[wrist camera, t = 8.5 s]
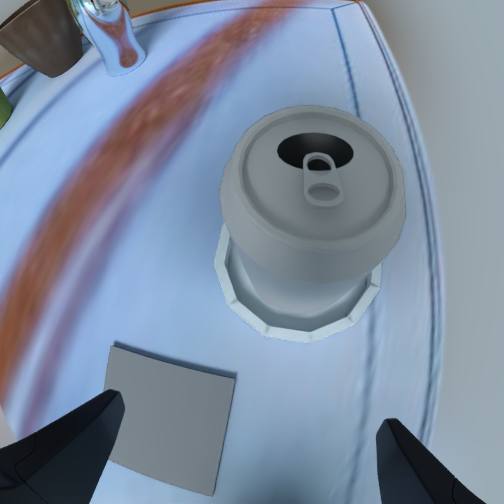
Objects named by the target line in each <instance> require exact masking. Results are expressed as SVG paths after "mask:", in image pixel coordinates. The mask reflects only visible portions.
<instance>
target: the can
mask: <svg viewBox="0 0 504 504" xmlns="http://www.w3.org/2000/svg"><path fill="white" fill-rule="evenodd" d="M219 193H220V201H221V210H222V217H223V220H224V222H225V224H226V227H227V229H228V231H229V234H230V236H231V238H232V241H233V243H234V245H235V247H236V250H237V252H238V254H239V257H240V259H241V261H242V264H243V266H244V268H245V271H246V273H247V275H248V277H249V279H250V281H251V283H252V285H253V287H254V289H255V291H256V292H257V293H258V294H259V295H260V296H261V297H262V298H263V299H264V300H265V301H266V302H267V303H268V304H270V305H272V306H274V307H276V308H278V309H280V310H282V311H284V312H290V313H298V314H306V313H311V312H316V311H321V310H323V309H324V308H326V307H328V306H330V305H331V304H333V303H335V302H336V301H337V300H339V299H340V298H341V297H342V296H343V295H345V294H346V293H347V292H348V291H349V290H350V289H352V288H353V287H354V286H355V285H356V284H357V283H359V282H360V281H361V280H362V279H363V278H364V277H365V276H366V275H368V274H369V273H370V272H371V271H372V270H373V269H374V268H375V267H376V266H378V265H379V264H380V263H381V262H382V261H383V259H384V258H385V257H386V256H387V254H388V253H389V252H390V250H391V249H392V248H393V247H394V245H395V244H396V243H397V241H398V240H399V237H400V233H401V230H402V227H403V223H404V220H405V216H406V207H405V193H404V181H403V171H402V167H401V165H400V163H399V161H398V158H397V156H396V154H395V152H394V150H393V148H392V147H391V146H390V144H389V143H388V142H387V141H386V140H385V139H384V137H383V136H382V135H381V134H380V133H379V132H378V131H377V130H376V129H375V128H373V127H372V126H370V125H369V124H368V123H366V122H365V121H363V120H362V119H360V118H359V117H357V116H354V115H352V114H349V113H347V112H344V111H341V110H339V109H336V108H331V107H323V106H315V105H305V106H296V107H287V108H284V109H282V110H279V111H276V112H274V113H271V114H268V115H266V116H264V117H263V118H262V119H260V120H259V121H258V122H256V123H255V124H254V125H252V126H251V127H250V128H248V129H247V130H246V132H245V133H244V135H243V136H242V138H241V139H240V140H239V142H238V143H237V145H236V146H235V148H234V152H233V155H232V157H231V158H230V160H229V161H228V163H227V164H226V166H225V169H224V173H223V177H222V181H221V185H220V189H219Z"/></svg>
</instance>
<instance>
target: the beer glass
mask: <svg viewBox="0 0 504 504" xmlns="http://www.w3.org/2000/svg"><path fill="white" fill-rule="evenodd" d="M65 2H66V5H67V7H68V10H69V12H70V14H71V16H72V18H73V20H74V22H75V24H76V26H77V27H78V29H79V30H80V31H81V33H82V34H83V35H84V36H85V37H86V39H87V40H88V41H89V42H90V43H91V44H92V45H93V46H94V48H95V49H96V50H97V51H98V52H99V54H100V56H101V57H102V59H103V62H104V65H105V69H106V72H107V74H108V75H109V76H111V77H118V76H122V75H124V74H127V73H129V72H131V71H133V70H134V69H136V68H137V67H138V66H140V65H141V64H142V63H143V61H144V60H145V58H146V53H145V51H144V50H143V48H142V47H141V46H140V44H139V43H138V41H137V40H136V38H135V35H134V32H133V27H132V22H131V17H130V12H129V7H128V3H127V0H65Z"/></svg>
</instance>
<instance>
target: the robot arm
mask: <svg viewBox="0 0 504 504" xmlns="http://www.w3.org/2000/svg"><path fill="white" fill-rule="evenodd" d="M124 413H125V404H124V401H123V398H122V394H121V392H120V391H117V390H114V389H108V390H106V391H104V392H103V393H101V394H99V395H98V396H96V397H94V398H93V399H91V400H89V401H88V402H86V403H84V404H83V405H81V406H79V407H78V408H76V409H74V410H73V411H71V412H69V413H68V414H66V415H64V416H63V417H61V418H59V419H57V420H56V421H54V422H52V423H50V424H49V425H47V426H45V427H44V428H42V429H40V430H38V431H37V432H35V433H33V434H31V435H29V436H27V437H25V438H23V439H22V440H20V441H17V442H15V443H13V444H11V445H8V446H6V447H3V448H1V449H0V504H89V503H90V501H91V498H92V496H93V493H94V491H95V489H96V486H97V484H98V482H99V479H100V477H101V475H102V472H103V470H104V468H105V466H106V463H107V461H108V459H109V456H110V454H111V452H112V450H113V447H114V445H115V442H116V439H117V435H118V432H119V429H120V426H121V423H122V419H123V416H124ZM376 447H377V471H378V480H379V487H380V494H381V502H382V504H486V503H485V502H483V501H482V500H481V499H479V498H478V497H477V496H476V495H474V494H473V493H472V492H471V491H470V490H468V489H467V488H466V487H465V486H464V485H463V484H462V483H461V482H460V481H459V480H458V479H457V478H455V476H454V475H452V473H451V472H450V471H449V470H447V468H446V467H445V466H444V465H443V464H442V463H441V462H440V461H439V460H438V459H436V457H435V456H434V455H433V454H432V453H431V452H430V451H429V450H428V449H427V448H426V447H425V446H424V445H423V444H422V443H421V442H420V441H419V440H418V439H417V438H416V437H415V436H414V435H413V434H412V433H411V432H410V431H409V430H408V429H407V428H406V427H405V426H404V425H403V424H402V423H401V422H400V421H399V420H398V419H396V418H387V419H385V420H384V421H383V423H382V425H381V426H380V428H379V430H378V432H377V434H376Z"/></svg>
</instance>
